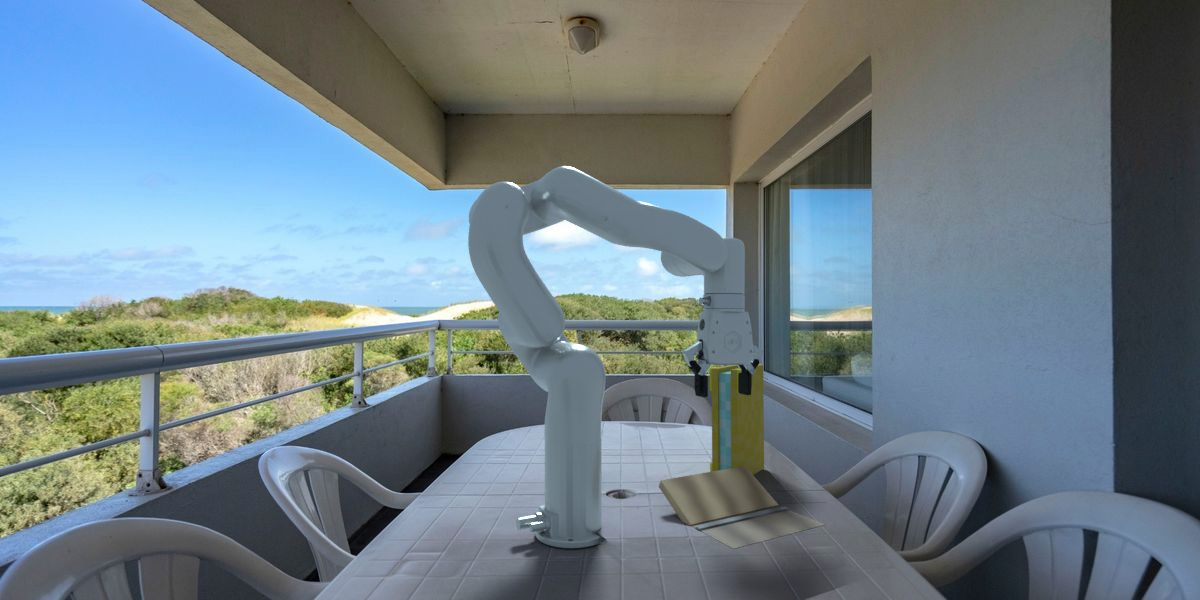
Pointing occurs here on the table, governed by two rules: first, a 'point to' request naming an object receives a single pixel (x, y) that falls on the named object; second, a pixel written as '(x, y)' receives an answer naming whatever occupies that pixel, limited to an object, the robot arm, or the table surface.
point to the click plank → (715, 495)
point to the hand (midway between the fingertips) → (723, 395)
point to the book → (737, 420)
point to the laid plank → (757, 526)
